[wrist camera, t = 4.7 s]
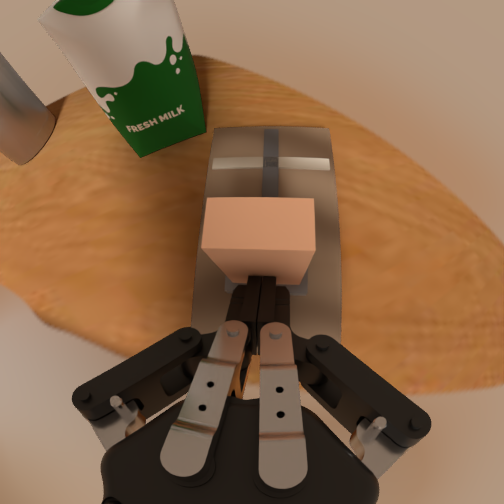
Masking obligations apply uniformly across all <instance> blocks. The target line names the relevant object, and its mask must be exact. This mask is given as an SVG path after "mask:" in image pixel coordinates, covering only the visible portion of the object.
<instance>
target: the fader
mask: <svg viewBox="0 0 504 504" xmlns="http://www.w3.org/2000/svg"><path fill="white" fill-rule="evenodd" d="M201 249H202V250H203V251H204V252H205V253H206V254H207V255H208V256H209V257H210V258H211V259H212V261H213V262H214V263H215V264H216V265H217V266H218V267H219V268H220V269H221V270H222V271H223V273H224V274H225V290H224V291H226V292H227V293H232V292H233V290H234V289H235V288H236V287H237V286H238V285H247V280H248V276H262V279H263V276H269V277H276V286H286V287H287V289H288V290H289V292H290V295H299V296H306V294H307V293H308V266H309V264H310V262H311V259H312V257H313V255H314V253H315V251H316V248H315V212H314V198H279V197H214V198H207V202H206V210H205V218H204V226H203V235H202V245H201Z"/></svg>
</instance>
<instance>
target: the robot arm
mask: <svg viewBox="0 0 504 504" xmlns="http://www.w3.org/2000/svg"><path fill="white" fill-rule="evenodd" d="M54 125H55V117H54V116H53V114H52V113H51V112H50V111H49V110H48V109H47V108H46V107H45V105H44V104H43V103H42V102H41V101H40V100H39V98H38V97H37V96H36V95H35V94H34V93H33V91H32V90H31V89H30V88H29V87H28V86H27V85H26V83H25V82H24V81H23V80H22V78H21V77H20V76H19V75H18V74H17V72H16V71H15V70H14V69H13V67H12V66H11V65H10V64H9V62H8V61H7V60H6V59H5V58H4V56H3V55H2V54H1V52H0V152H2V153H3V154H4V155H5V156H6V157H8V158H9V159H10V160H11V161H14V162H15V163H16V164H18V165H22V164H25V163H26V162H28V161H29V160H30V159H32V158H33V157H34V156H35V155H36V154H37V153H38V152H39V150H40V149H41V148H42V147H43V145H44V144H45V143H46V141H47V140H48V138H49V136H50V135H51V133H52V131H53V128H54ZM257 347H258V355H260V398H258V399H250V400H243V394H244V390H245V386H246V382H247V377H248V373H249V369H250V362H251V356H252V355H257ZM298 381H299V382H301V385H302V386H303V388H304V389H305V390H306V391H307V392H308V393H309V394H310V395H311V396H313V397H314V398H315V399H316V400H317V401H318V402H319V403H320V404H321V405H322V406H323V407H324V408H325V409H326V410H327V411H328V412H329V413H330V414H331V415H332V416H333V417H334V418H335V419H336V420H337V421H338V422H339V423H340V424H341V425H343V426H344V427H345V428H346V429H347V430H348V431H349V432H350V433H351V434H352V435H351V437H350V446H351V448H352V449H353V450H354V452H355V454H356V455H355V454H354V453H353V452H352V451H351V450H350V449H349V448H348V447H347V446H346V445H345V444H344V443H343V442H341V440H340V439H339V438H338V437H337V436H336V435H335V434H334V433H333V432H332V431H331V430H330V429H329V428H328V427H327V425H326V424H325V423H324V422H323V421H322V420H321V419H320V418H319V417H318V416H317V415H316V414H315V413H313V412H312V411H311V410H309V409H307V408H305V407H303V406H301V402H300V391H299V382H298ZM187 392H188V394H187V396H186V399H184V400H182V401H180V402H178V403H176V404H175V405H173V406H172V407H170V408H169V409H168V410H166V411H165V412H163V413H162V414H160V415H159V416H157V417H156V418H154V419H153V420H152V421H150V422H149V423H147V424H146V419H148V418H149V417H151V416H152V415H154V414H156V413H157V412H159V411H160V410H162V409H163V408H165V407H166V406H168V405H169V404H171V403H172V402H174V401H175V400H177V399H178V398H180V397H181V396H183V395H184V394H186V393H187ZM72 402H73V404H74V406H75V407H76V408H77V409H78V410H79V411H80V413H81V414H82V415H83V417H84V418H85V419H86V420H87V421H88V422H89V423H90V424H91V426H92V427H93V429H94V431H95V433H96V435H97V436H98V438H99V440H100V442H101V443H102V445H103V447H104V448H105V450H106V453H105V454H104V456H103V458H102V461H101V475H102V479H103V486H104V497H103V501H102V504H376V502H377V500H378V496H379V483H378V479H379V478H380V477H381V476H382V475H383V474H384V473H385V472H386V471H387V470H388V469H389V468H390V467H391V466H392V465H393V464H394V463H395V462H396V461H397V460H398V459H399V457H401V456H402V455H403V454H405V453H406V452H407V451H408V450H409V449H411V448H412V447H413V446H414V445H415V444H417V443H418V442H419V441H420V440H421V439H422V438H423V437H424V436H426V435H427V434H428V432H429V431H430V428H431V419H430V417H429V415H428V414H427V413H426V412H425V411H424V410H422V409H421V408H420V407H419V406H417V405H416V404H415V403H413V402H412V401H411V400H410V399H408V398H407V397H406V396H405V395H403V394H402V393H401V392H399V391H398V390H397V389H396V388H394V387H393V386H392V385H391V384H389V383H388V382H387V381H386V380H384V379H383V378H382V377H381V376H379V375H378V374H377V373H376V372H374V371H373V370H372V369H371V368H369V367H368V366H367V365H366V364H364V363H363V362H362V361H361V360H359V359H358V358H357V357H356V356H354V355H353V354H352V353H351V352H349V351H348V350H347V349H346V348H345V347H343V346H342V345H341V344H340V343H338V342H337V341H336V340H335V339H333V338H332V337H330V336H328V335H323V334H320V335H315V336H313V337H311V338H310V339H306V338H302V337H299V336H297V335H296V334H295V333H294V332H293V331H292V330H291V327H290V292H289V290H288V289H287V287H286V286H276V277H269V276H263V279H262V276H248V280H247V285H238V286H237V287H236V288H235V289H234V290H233V292H232V296H231V300H230V304H229V308H228V312H227V316H226V320H225V322H224V323H223V324H221V325H220V327H219V328H218V330H217V331H215V332H212V333H207V334H200V332H199V331H198V330H197V329H195V328H191V327H185V328H181V329H179V330H177V331H175V332H174V333H172V334H170V335H168V336H167V337H165V338H163V339H162V340H160V341H158V342H157V343H155V344H153V345H151V346H150V347H148V348H146V349H145V350H143V351H141V352H139V353H138V354H136V355H134V356H132V357H131V358H129V359H127V360H125V361H124V362H122V363H120V364H119V365H117V366H115V367H113V368H112V369H110V370H108V371H106V372H104V373H102V374H101V375H99V376H97V377H95V378H93V379H92V380H90V381H88V382H86V383H84V384H82V385H81V386H79V387H78V388H76V390H75V391H74V392H73V395H72ZM145 424H146V425H145Z"/></svg>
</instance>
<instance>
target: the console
mask: <svg viewBox="0 0 504 504" xmlns="http://www.w3.org/2000/svg"><path fill="white" fill-rule="evenodd" d="M214 197H279V198H314V212H315V248H316V251H315V253H314V255H313V257H312V259H311V262H310V264H309V266H308V293H307V294H306V296H299V295H290V327H291V330H292V331H293V332H294V333H295V334H296V335H297V336H299V337H302V338H306V339H310V338H311V337H313V336H315V335H320V334H323V335H328V336H330V337H332V338H333V339H335V340H336V341H337V342H338V343H340V344H341V309H342V286H341V248H340V228H339V213H338V200H337V189H336V179H335V169H334V161H333V153H332V145H331V138H330V131H329V128H314V127H283V126H259V127H228V128H214V134H213V140H212V146H211V152H210V158H209V165H208V171H207V178H206V185H205V192H204V200H203V207H202V215H201V223H200V232H199V241H198V250H197V259H196V270H195V280H194V292H193V304H192V318H191V328H195V329H197V330H198V331H199V332H200V334H207V333H212V332H215V331H217V330H218V328H219V327H220V325H221V324H223V323H224V322H225V320H226V316H227V312H228V308H229V304H230V300H231V296H232V293H227V292H226V291H224V290H225V274H224V273H223V271H222V270H221V269H220V268H219V267H218V266H217V265H216V264H215V263H214V262H213V261H212V259H211V258H210V257H209V256H208V255H207V254H206V253H205V252H204V251H203V250H202V249H201V245H202V235H203V226H204V218H205V210H206V202H207V198H214ZM257 353H258V347H257Z"/></svg>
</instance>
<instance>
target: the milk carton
mask: <svg viewBox="0 0 504 504" xmlns="http://www.w3.org/2000/svg"><path fill="white" fill-rule="evenodd" d="M38 21H39V23H40V24H41V25H42V27H43V28H44V29H45V30H46V31H47V33H48V34H49V35H50V37H51V38H52V39H53V40H54V42H55V43H56V44H57V46H58V47H59V48H60V50H61V51H62V52H63V54H64V55H65V57H66V58H67V60H68V61H69V63H70V64H71V65H72V67H73V68H74V70H75V71H76V73H77V74H78V76H79V77H80V79H81V80H82V81H83V83H84V84H85V86H86V87H87V89H88V90H89V91H90V93H91V94H92V96H93V97H94V98H95V100H96V101H97V103H98V104H99V105H100V107H101V108H102V110H103V111H104V112H105V114H106V115H107V116H108V118H109V119H110V120H111V122H112V123H113V125H114V126H115V127H116V128H117V130H118V131H119V132H120V133H121V135H122V136H123V137H124V138H125V140H126V141H127V142H128V143H129V144H130V146H131V147H132V148H133V149H134V151H135V152H136V153H137V154H138V156H139V157H140V158H141V157H143V156H146V155H148V154H150V153H153V152H155V151H157V150H160V149H162V148H165V147H167V146H170V145H172V144H175V143H178V142H180V141H183V140H186V139H188V138H191V137H194V136H197V135H199V134H202V133H205V132H206V127H205V121H204V114H203V107H202V101H201V94H200V87H199V82H198V78H197V73H196V69H195V65H194V62H193V58H192V55H191V52H190V49H189V46H188V43H187V39H186V36H185V33H184V30H183V27H182V24H181V21H180V17H179V15H178V11H177V8H176V5H175V2H174V0H56V1H54V2H53V4H52V5H51V6H50V7H49V8H48V9H47V10H46V11H45V12H44V13H43V14H42V15H41V16H40V17H39V18H38Z"/></svg>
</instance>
